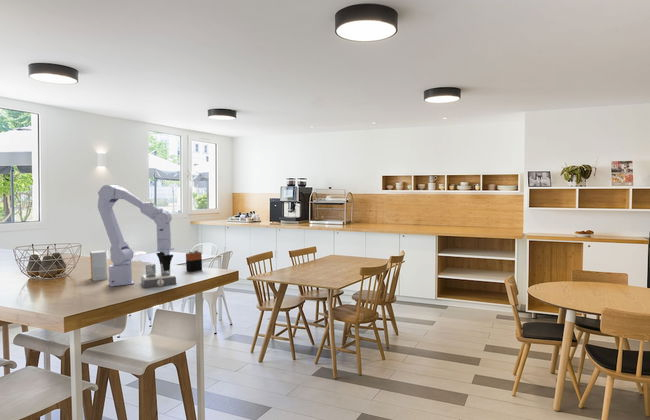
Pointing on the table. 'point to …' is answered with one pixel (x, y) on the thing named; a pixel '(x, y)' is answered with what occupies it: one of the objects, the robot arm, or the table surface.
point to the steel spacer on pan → (150, 270)
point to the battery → (193, 261)
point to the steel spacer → (164, 271)
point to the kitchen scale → (158, 280)
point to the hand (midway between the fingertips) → (165, 269)
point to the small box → (98, 265)
